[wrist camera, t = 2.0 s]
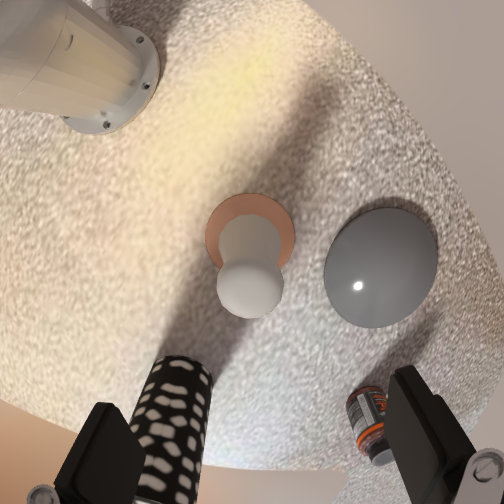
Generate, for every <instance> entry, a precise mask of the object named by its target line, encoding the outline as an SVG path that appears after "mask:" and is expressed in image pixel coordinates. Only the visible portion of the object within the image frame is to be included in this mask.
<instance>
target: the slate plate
mask: <svg viewBox="0 0 504 504" xmlns="http://www.w3.org/2000/svg"><path fill="white" fill-rule="evenodd" d="M437 264H438V254H437V247H436V243H435V240H434V237H433V235H432V233H431V231H430V230H429V228H428V227H427V226H426V224H425V223H424V222H423V221H422V220H421V219H419V218H418V217H417V216H415V215H413V214H411V213H409V212H407V211H404V210H401V209H397V208H390V207H385V208H377V209H373V210H370V211H367V212H365V213H363V214H361V215H359V216H357V217H356V218H354V219H353V220H352V221H350V222H349V223H348V224H347V225H346V226H345V227H344V228H343V229H342V230H341V231H340V233H339V234H338V235H337V237H336V238H335V240H334V241H333V243H332V245H331V247H330V249H329V252H328V254H327V257H326V262H325V267H324V284H325V290H326V293H327V296H328V298H329V300H330V302H331V304H332V306H333V307H334V309H335V310H336V312H337V313H338V314H339V315H340V316H341V317H342V318H343V319H345V320H346V321H347V322H349V323H351V324H353V325H356V326H358V327H363V328H382V327H386V326H390V325H393V324H395V323H397V322H399V321H401V320H403V319H404V318H406V317H407V316H409V315H410V314H411V313H412V312H414V311H415V310H416V309H417V308H418V307H419V306H420V304H421V303H422V302H423V301H424V299H425V298H426V296H427V295H428V293H429V291H430V289H431V287H432V285H433V282H434V279H435V276H436V271H437Z"/></svg>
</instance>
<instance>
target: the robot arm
mask: <svg viewBox="0 0 504 504" xmlns="http://www.w3.org/2000/svg"><path fill="white" fill-rule="evenodd" d="M109 11H110V0H93V2H92V8H91V7H89V6H88V5H87V4H86V3H84V2H83V1H82V0H0V108H4V109H14V110H24V111H32V112H40V113H47V114H54V115H59V116H60V117H61V119H62V120H63V122H64V123H65V124H66V125H67V126H68V127H70V128H71V129H73V130H74V131H76V132H78V133H82V134H86V135H104V134H107V133H111V132H114V131H116V130H118V129H120V128H122V127H124V126H126V125H127V124H128V123H130V122H131V121H133V120H134V119H135V118H136V117H137V116H138V115H139V114H140V113H141V112H142V111H143V109H144V108H145V107H146V105H147V104H148V103H149V101H150V99H151V97H152V95H153V93H154V92H155V89H156V86H157V83H158V79H159V73H160V60H159V56H158V52H157V49H156V47H155V45H154V44H153V42H152V41H151V40H150V39H149V37H148V36H146V35H145V34H144V33H143V32H142V31H140V30H138V29H136V28H134V27H130V26H125V25H115V24H113V18H112V17H110V16H109ZM142 41H143V42H142ZM141 42H142V43H141ZM148 85H150V87H149V88H148V89H146V88H147V86H148ZM110 123H111V124H110ZM109 124H110V127H109ZM383 429H384V434H385V436H386V439H387V441H388V443H389V446H390V448H391V451H392V453H393V456H394V458H395V461H396V463H397V466H398V469H399V471H400V474H401V476H402V479H403V481H404V484H405V487H406V489H407V492H408V495H409V497H410V500H411V503H412V504H504V453H503V452H501V451H500V450H498V449H494V448H485V449H482V450H480V451H478V452H477V451H476V450H475V448H474V447H473V445H472V443H471V442H470V440H469V438H468V437H467V435H466V434H465V432H464V430H463V429H462V427H461V426H460V424H459V422H458V421H457V419H456V418H455V416H454V415H453V413H452V412H451V410H450V409H449V407H448V406H447V404H446V403H445V401H444V400H443V398H442V397H441V396H440V395H438V394H436V395H433V394H432V392H431V391H430V389H429V388H428V386H427V385H426V383H425V382H424V380H423V379H422V377H421V376H420V374H419V373H418V371H417V370H416V368H415V367H414V366H413V365H409V366H406V367H402V368H399V369H396V370H395V374H393V375H391V377H390V384H389V391H388V398H387V405H386V411H385V418H384V423H383ZM145 460H146V452H145V450H144V448H143V447H142V445H141V444H140V442H139V441H138V439H137V438H136V436H135V435H134V433H133V431H132V430H131V428H130V427H129V425H128V423H127V422H126V420H125V418H124V417H123V415H122V413H121V412H120V410H119V409H118V408H117V407H115V405H114V404H113V403H106V402H97V403H96V404H95V405H94V407H93V409H92V411H91V413H90V414H89V416H88V418H87V420H86V422H85V423H84V425H83V427H82V429H81V431H80V433H79V435H78V436H77V438H76V440H75V442H74V444H73V446H72V448H71V450H70V452H69V454H68V455H67V458H66V460H65V462H64V463H63V465H62V467H61V469H60V471H59V473H58V475H57V477H56V479H55V481H54V485H55V488H54V489H53V487H51V486H49V485H45V484H42V485H38V486H36V487H34V488H33V489H32V490H31V491H30V492H29V494H28V496H27V504H133V500H134V497H135V494H136V490H137V487H138V483H139V480H140V477H141V473H142V470H143V467H144V464H145Z"/></svg>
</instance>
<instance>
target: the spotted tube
mask: <svg viewBox="0 0 504 504" xmlns="http://www.w3.org/2000/svg"><path fill="white" fill-rule="evenodd" d="M212 389H213V380H212V377H211V375H210V373H209V371H208V370H207V369H206V368H205V367H204V366H203V365H202V364H200V363H199V362H197V361H195V360H193V359H191V358H187V357H184V356H166V357H163V358H161V359H159V360H158V361H156V362H155V363H154V365H153V366H152V369H151V371H150V373H149V376H148V378H147V380H146V383H145V385H144V388H143V390H142V392H141V395H140V397H139V400H138V402H137V405H136V407H135V409H134V412H133V414H132V417H131V419H130V422H129V424H128V425H129V427H130V428H131V430H132V431H133V433H134V435H135V436H136V438H137V439H138V441H139V442H140V444H141V445H142V447H143V448H144V450H145V452H146V460H145V464H144V467H143V470H142V473H141V477H140V480H139V483H138V487H137V490H136V494H135V497H134V500H133V504H196V502H197V495H198V488H199V480H200V473H201V466H202V458H203V451H204V444H205V437H206V430H207V423H208V416H209V409H210V403H211V396H212Z"/></svg>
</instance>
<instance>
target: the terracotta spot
mask: <svg viewBox="0 0 504 504" xmlns="http://www.w3.org/2000/svg"><path fill="white" fill-rule="evenodd" d="M249 214H255V215H258V216H261V217H264V218H266V219H268V220H269V221H270V222H271V223H272V224H273V225H274V226H275V227H276V228H277V230H278V233H279V236H280V239H281V248H280V254H279V258H278V261H277V265H278V266H279V268H282V267H283V266H284V264H285V263H286V262H287V260H288V259H289V257H290V255H291V253H292V250H293V247H294V241H295V233H294V227H293V224H292V221H291V219H290V217H289V215H288V213H287V212H286V211H285V209H284V208H283V207H282V206H281V205H280V204H278V203H277V202H276V201H274V200H273V199H271V198H269V197H266V196H263V195H260V194H250V193H248V194H240V195H236V196H234V197H231V198H229V199H227V200H226V201H224V202H223V203H221V204H220V205H219V206H218V207H217V208H216V209H215V211H214V212H213V213H212V215H211V217H210V219H209V221H208V223H207V227H206V233H205V241H206V247H207V250H208V253H209V255H210V257H211V259H212V260H213V262H214V263H215V264H216V266H217V267H218V268H220V269H221V268H222V266H223V265H224V263H223V259H222V257H221V254H220V251H219V236H220V233H221V232H222V230H223V229H224V227H225V226H226V224H227V223H228V222H230V221H231V220H233V219H235V218H236V217H238V216H239V215H249Z"/></svg>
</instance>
